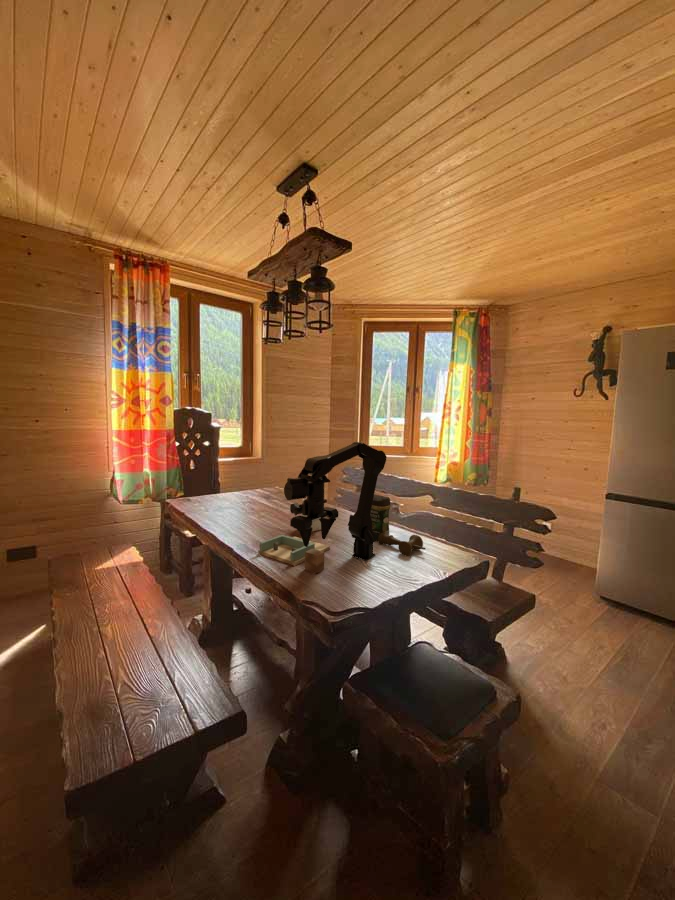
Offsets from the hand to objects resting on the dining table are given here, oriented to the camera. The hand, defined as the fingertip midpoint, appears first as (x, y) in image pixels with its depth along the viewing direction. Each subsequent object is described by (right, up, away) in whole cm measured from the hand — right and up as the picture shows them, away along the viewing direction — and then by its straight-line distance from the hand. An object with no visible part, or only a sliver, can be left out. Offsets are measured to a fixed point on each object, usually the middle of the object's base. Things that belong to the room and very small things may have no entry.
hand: (315, 542), depth 124 cm
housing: (-11, -6, +13) cm, 18 cm away
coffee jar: (+24, -7, +33) cm, 41 cm away
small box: (-4, -5, +45) cm, 46 cm away
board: (-9, -7, +17) cm, 20 cm away
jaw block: (0, -9, +1) cm, 9 cm away
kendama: (+32, -8, +21) cm, 39 cm away
